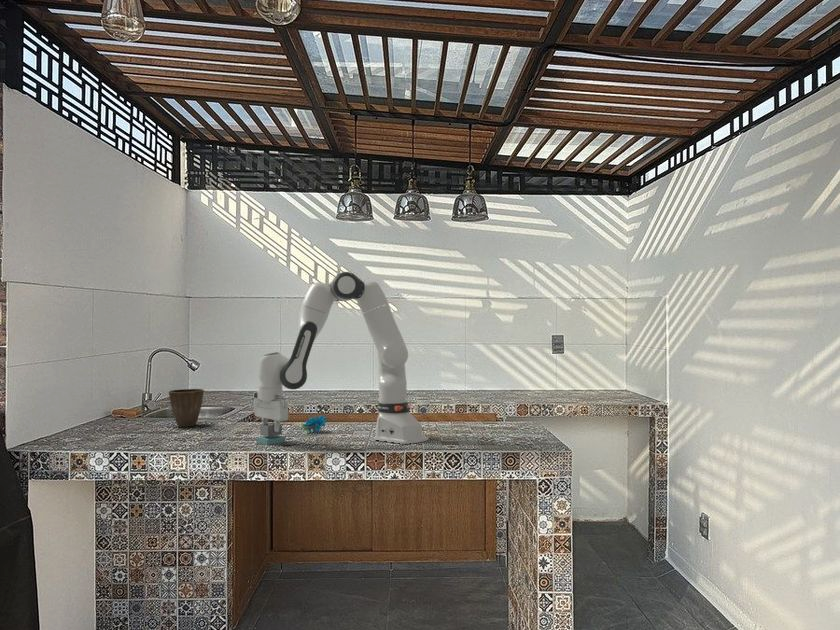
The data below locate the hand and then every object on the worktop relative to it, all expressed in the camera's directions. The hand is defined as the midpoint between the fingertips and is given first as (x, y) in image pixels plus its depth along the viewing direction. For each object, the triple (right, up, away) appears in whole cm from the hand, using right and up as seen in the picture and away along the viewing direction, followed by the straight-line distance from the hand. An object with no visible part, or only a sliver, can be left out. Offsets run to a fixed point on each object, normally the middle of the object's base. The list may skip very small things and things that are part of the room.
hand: (271, 430), depth 252 cm
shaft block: (0, -5, 0) cm, 5 cm away
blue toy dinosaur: (+13, -5, +22) cm, 26 cm away
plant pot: (-47, -6, +41) cm, 63 cm away
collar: (0, -2, 0) cm, 2 cm away
